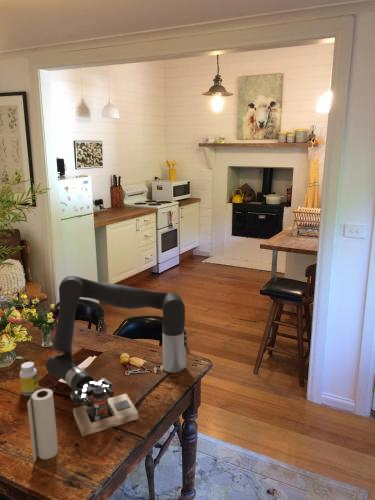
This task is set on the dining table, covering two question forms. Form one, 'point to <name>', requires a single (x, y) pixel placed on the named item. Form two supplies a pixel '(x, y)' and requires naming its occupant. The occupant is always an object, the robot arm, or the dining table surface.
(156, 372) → the dining table surface
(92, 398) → the supplement bottle
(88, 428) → the board
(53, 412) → the paper towel roll
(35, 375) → the pill bottle
